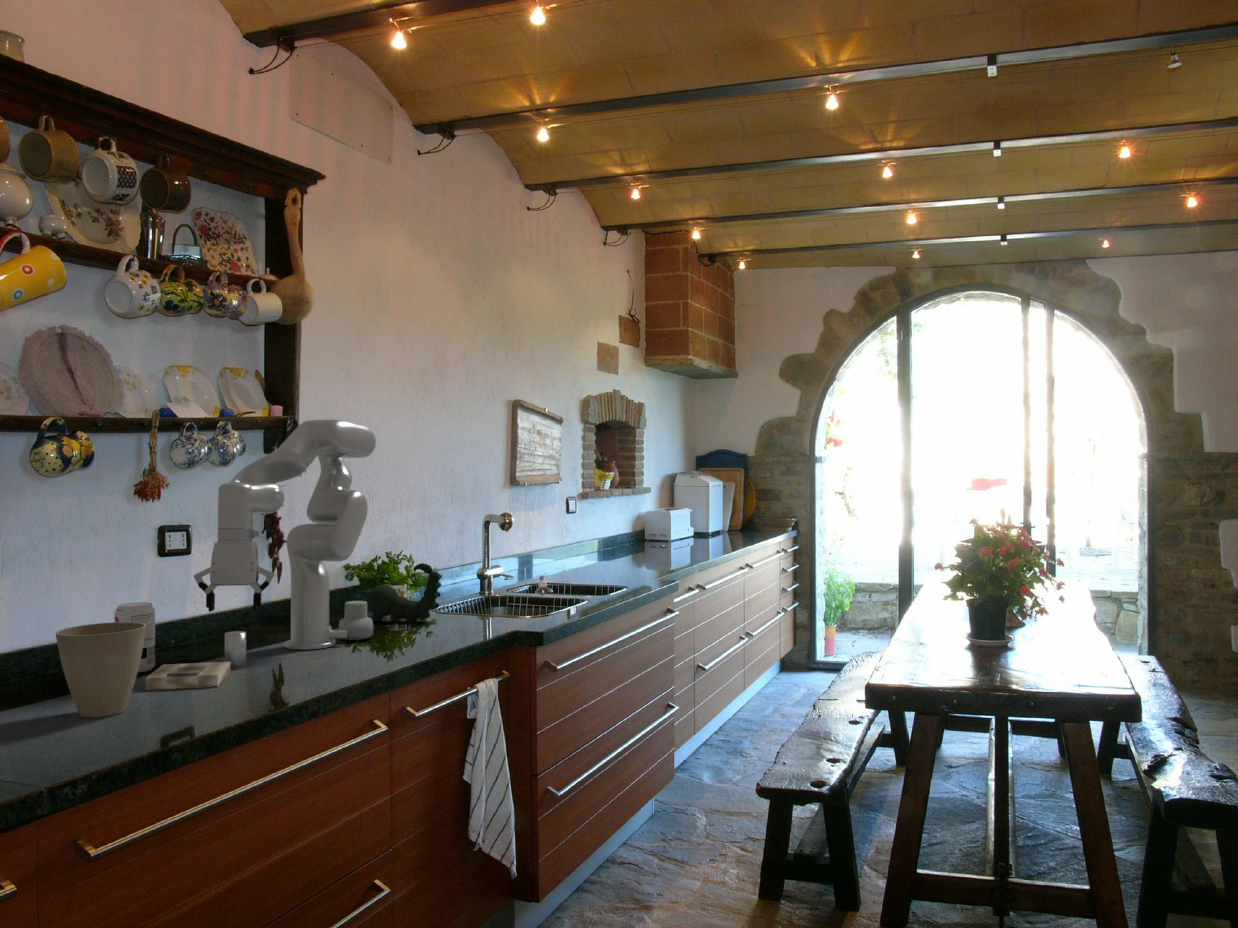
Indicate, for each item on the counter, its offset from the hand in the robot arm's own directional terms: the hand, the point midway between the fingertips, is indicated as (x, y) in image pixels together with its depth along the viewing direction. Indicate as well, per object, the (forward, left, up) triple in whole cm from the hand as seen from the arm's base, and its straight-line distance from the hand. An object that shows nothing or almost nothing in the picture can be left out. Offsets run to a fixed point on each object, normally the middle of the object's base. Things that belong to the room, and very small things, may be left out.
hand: (233, 610), depth 217 cm
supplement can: (+22, -3, -14) cm, 26 cm away
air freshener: (-25, -33, -14) cm, 43 cm away
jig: (+7, +12, -13) cm, 19 cm away
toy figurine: (-36, -60, -14) cm, 71 cm away
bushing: (0, -1, -13) cm, 13 cm away
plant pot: (+17, +37, -14) cm, 43 cm away
